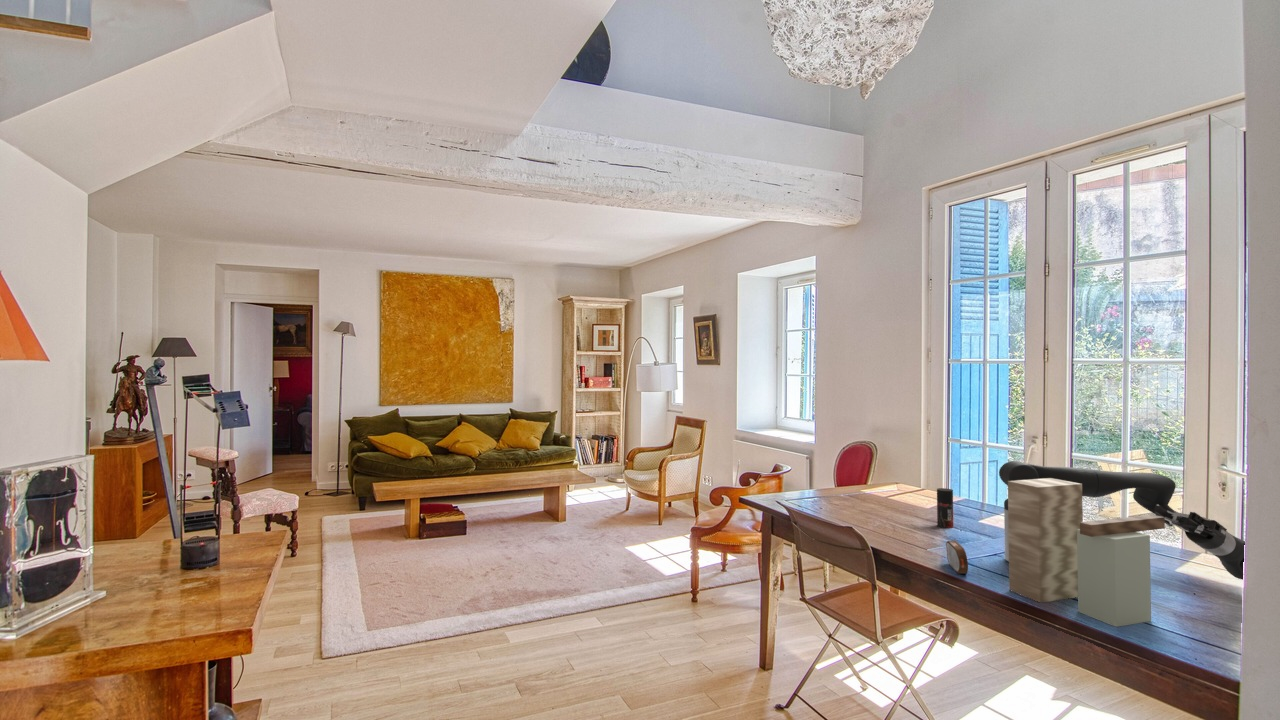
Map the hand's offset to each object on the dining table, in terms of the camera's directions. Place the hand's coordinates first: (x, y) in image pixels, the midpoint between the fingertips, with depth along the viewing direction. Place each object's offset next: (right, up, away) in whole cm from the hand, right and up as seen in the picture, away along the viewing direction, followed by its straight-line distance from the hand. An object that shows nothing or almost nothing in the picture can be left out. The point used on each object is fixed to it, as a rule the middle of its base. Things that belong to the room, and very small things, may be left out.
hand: (1173, 511), depth 169 cm
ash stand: (-28, -26, +11) cm, 40 cm away
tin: (-43, -27, +32) cm, 60 cm away
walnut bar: (-18, -4, -5) cm, 19 cm away
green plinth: (-21, -26, -6) cm, 34 cm away
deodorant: (-20, -27, +86) cm, 92 cm away
